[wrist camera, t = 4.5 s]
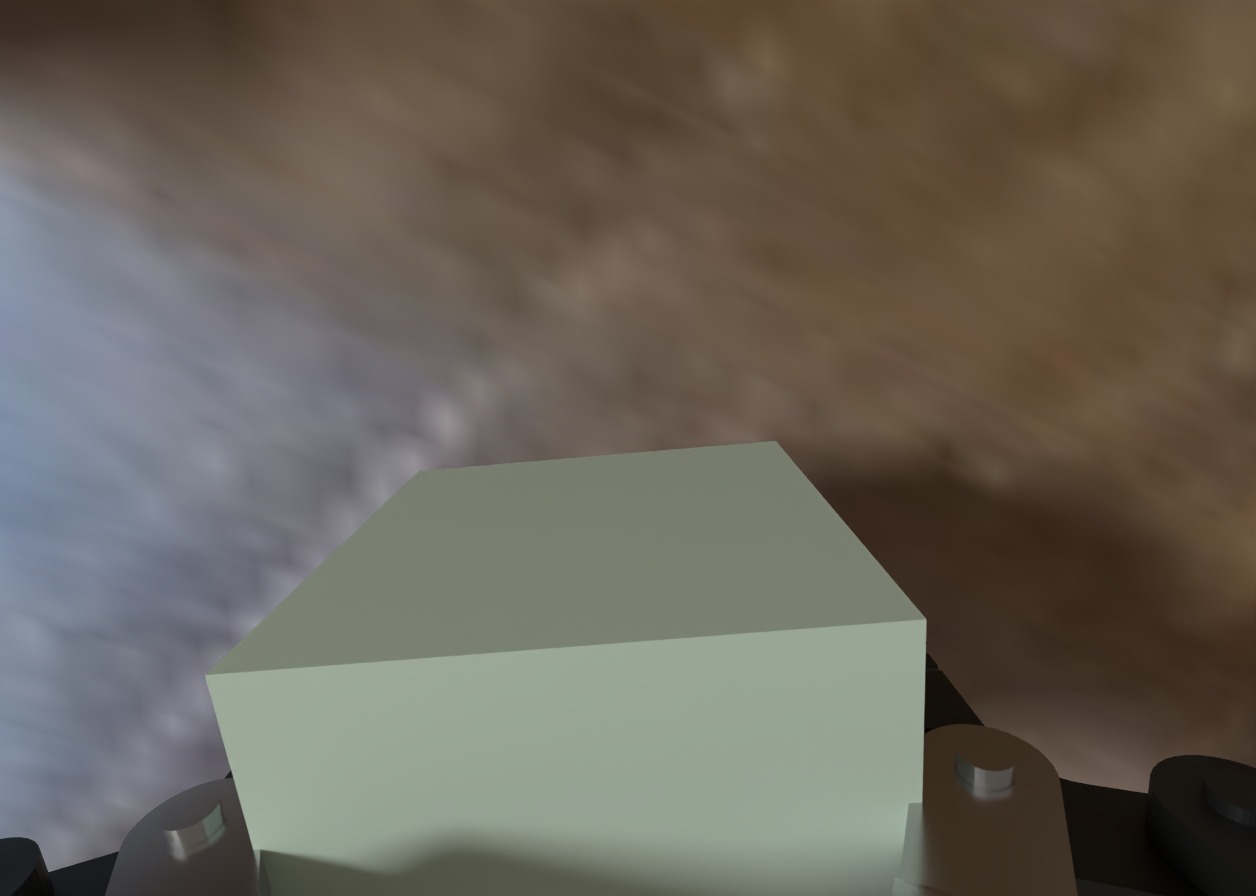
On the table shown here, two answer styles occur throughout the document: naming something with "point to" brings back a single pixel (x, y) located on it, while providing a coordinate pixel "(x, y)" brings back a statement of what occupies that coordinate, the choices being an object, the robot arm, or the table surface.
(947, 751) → the robot arm
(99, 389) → the table surface
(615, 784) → the sage block
